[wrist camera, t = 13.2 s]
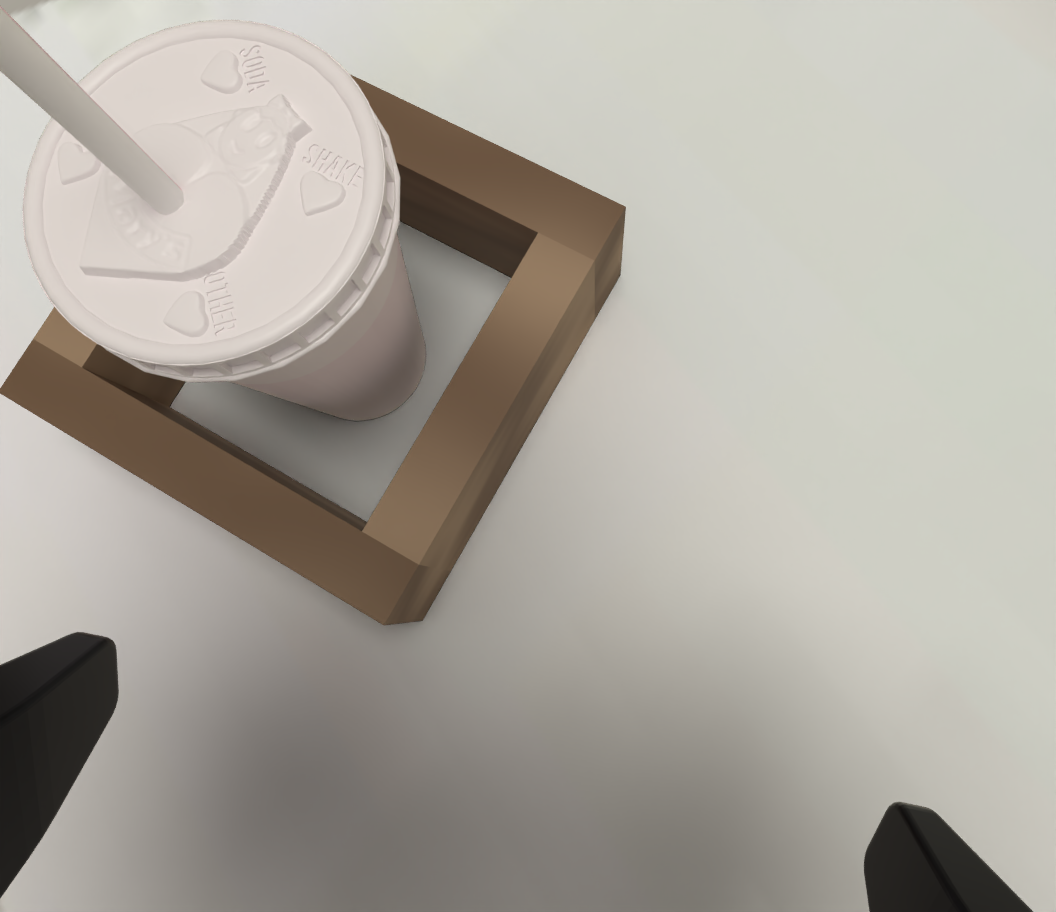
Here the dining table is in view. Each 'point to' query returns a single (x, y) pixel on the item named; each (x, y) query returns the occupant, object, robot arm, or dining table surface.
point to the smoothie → (223, 215)
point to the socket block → (457, 420)
